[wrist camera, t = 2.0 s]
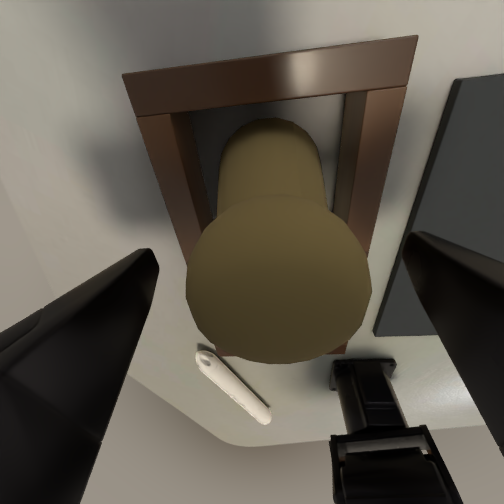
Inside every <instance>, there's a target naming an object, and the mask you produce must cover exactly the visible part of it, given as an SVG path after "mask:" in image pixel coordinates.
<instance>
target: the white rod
mask: <svg viewBox="0 0 504 504" xmlns="http://www.w3.org/2000/svg"><path fill="white" fill-rule="evenodd" d="M195 358H196V363H197V365H198V367H199V369H200V370H201V371H202V372H203V373H204V374H205V375H206V376H207V377H208V378H210V379H211V380H212V381H213V382H214V383H215V384H216V385H218V386H219V387H220V388H221V389H222V390H223V391H224V392H226V393H227V394H228V395H229V396H230V398H232V399H233V400H235V401H236V402H237V403H238V404H239V405H240V406H241V407H243V408H244V409H245V410H246V411H247V412H248V413H249V414H250V415H252V416H253V417H254V418H255V419H256V420H257V421H259V422H260V423H261V424H263V425H267V424H269V423H270V421H271V418H272V413H271V411H270V410H269V408H267V407H266V406H265V405H264V404H263V403H262V402H261V401H260V400H259V399H258V398H257V397H256V396H255V395H254V394H253V393H252V392H251V391H250V390H249V389H248V388H247V387H246V386H245V385H244V384H243V383H242V382H241V381H240V380H239V379H238V378H237V377H236V376H235V375H234V374H233V373H232V372H231V371H230V370H229V369H228V368H227V367H226V366H225V365H224V364H223V363H222V362H221V361H220V359H219V358H217V357H216V356H215V355H214V354H213V353H211V352H209V351H197V352H196V356H195Z"/></svg>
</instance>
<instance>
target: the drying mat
mask: <svg viewBox="0 0 504 504" xmlns="http://www.w3.org/2000/svg"><path fill="white" fill-rule="evenodd" d="M412 231H425V232H428V233H430V234H433V235H435V236H438V237H440V238H443V239H445V240H448V241H450V242H453V243H455V244H458V245H460V246H463V247H465V248H468V249H470V250H473V251H475V252H478V253H480V254H483V255H485V256H488V257H490V258H493V259H495V260H498V261H500V262H503V263H504V74H498V75H490V76H481V77H472V78H464V79H456V80H455V81H454V84H453V87H452V90H451V93H450V96H449V99H448V102H447V105H446V108H445V112H444V115H443V118H442V121H441V124H440V127H439V130H438V133H437V136H436V139H435V142H434V145H433V148H432V151H431V154H430V158H429V161H428V164H427V167H426V170H425V173H424V176H423V179H422V182H421V185H420V188H419V191H418V194H417V197H416V201H415V204H414V207H413V210H412V213H411V216H410V219H409V222H408V225H407V228H406V231H405V234H404V237H403V240H402V243H401V247H400V250H399V253H398V256H397V259H396V262H395V265H394V268H393V271H392V274H391V277H390V280H389V283H388V286H387V290H386V293H385V296H384V299H383V302H382V305H381V308H380V311H379V314H378V317H377V320H376V323H375V326H374V329H373V333H374V336H375V337H385V336H423V335H438V334H437V332H436V330H435V328H434V326H433V325H432V323H431V321H430V319H429V317H428V315H427V313H426V312H425V310H424V308H423V306H422V304H421V302H420V300H419V298H418V296H417V294H416V292H415V290H414V287H413V285H412V282H411V279H410V277H409V274H408V272H407V269H406V267H405V264H404V262H403V259H402V249H403V246H404V243H405V240H406V237H407V235H408V233H410V232H412Z"/></svg>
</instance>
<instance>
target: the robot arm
mask: <svg viewBox="0 0 504 504" xmlns="http://www.w3.org/2000/svg"><path fill="white" fill-rule="evenodd" d="M402 259H403V262H404V264H405V267H406V269H407V272H408V274H409V277H410V279H411V282H412V285H413V287H414V290H415V292H416V294H417V296H418V298H419V300H420V302H421V304H422V306H423V308H424V310H425V312H426V313H427V315H428V317H429V319H430V321H431V323H432V325H433V326H434V328H435V330H436V332H437V334H438V336H439V338H440V339H441V341H442V343H443V345H444V347H445V349H446V351H447V352H448V354H449V356H450V358H451V360H452V362H453V364H454V365H455V367H456V369H457V371H458V373H459V375H460V377H461V378H462V380H463V382H464V384H465V386H466V388H467V390H468V391H469V393H470V395H471V397H472V399H473V401H474V402H475V404H476V406H477V408H478V410H479V412H480V414H481V415H482V417H483V419H484V421H485V423H486V425H487V426H488V428H489V430H490V432H491V434H492V436H493V438H494V440H495V441H496V443H497V445H498V446H499V449H500V451H501V453H502V455H503V456H504V263H503V262H500V261H498V260H495V259H493V258H490V257H488V256H485V255H483V254H480V253H478V252H475V251H473V250H470V249H468V248H465V247H463V246H460V245H458V244H455V243H453V242H450V241H448V240H445V239H443V238H440V237H438V236H435V235H433V234H430V233H428V232H425V231H412V232H410V233H408V235H407V237H406V240H405V243H404V246H403V249H402ZM158 274H159V264H158V262H157V260H156V258H155V255H154V253H153V251H152V250H151V249H150V248H143V249H138V250H136V251H135V252H133V253H131V254H130V255H128V256H126V257H125V258H123V259H121V260H120V261H118V262H117V263H115V264H113V265H112V266H110V267H108V268H107V269H105V270H103V271H102V272H100V273H99V274H97V275H95V276H94V277H92V278H90V279H89V280H87V281H85V282H84V283H82V284H81V285H79V286H77V287H76V288H74V289H72V290H71V291H69V292H67V293H66V294H64V295H63V296H61V297H59V298H58V299H56V300H54V301H53V302H51V303H49V304H48V305H46V306H45V307H44V308H43V309H40V310H38V311H36V312H35V313H33V314H31V315H30V316H28V317H26V318H25V319H23V320H22V321H20V322H18V323H16V324H15V325H13V326H11V327H10V328H8V329H6V330H4V331H3V332H1V333H0V504H80V502H81V499H82V497H83V494H84V491H85V488H86V485H87V483H88V480H89V477H90V474H91V472H92V469H93V466H94V463H95V461H96V458H97V455H98V452H99V449H100V447H101V444H102V442H101V441H102V440H103V438H104V435H105V432H106V429H107V427H108V424H109V421H110V418H111V416H112V413H113V410H114V407H115V405H116V402H117V399H118V396H119V394H120V391H121V388H122V385H123V382H124V380H125V377H126V374H127V371H128V369H129V366H130V363H131V360H132V358H133V355H134V352H135V349H136V346H137V344H138V341H139V338H140V335H141V333H142V330H143V327H144V324H145V321H146V319H147V316H148V313H149V310H150V307H151V304H152V300H153V296H154V292H155V287H156V283H157V279H158ZM396 365H397V363H396V361H395V360H394V359H367V360H336V361H334V362H333V366H332V372H331V377H330V382H329V389H330V390H331V391H338V395H339V399H340V404H341V408H342V412H343V417H344V421H345V426H346V430H347V434H346V435H330V436H331V441H329V446H330V452H331V458H332V473H333V476H332V477H333V500H334V503H335V504H463V502H462V499H461V497H460V495H459V492H458V490H457V488H456V486H455V484H454V482H453V480H452V477H451V475H450V474H449V471H448V469H447V467H446V465H445V463H444V461H443V459H442V457H441V455H440V453H439V451H438V449H437V447H436V445H435V443H434V440H433V439H432V436H431V434H430V432H429V430H428V428H427V426H426V425H419V427H410V428H409V426H408V424H407V421H406V419H405V416H404V414H403V411H402V409H401V406H400V404H399V401H398V399H397V396H396V394H395V391H394V389H393V386H392V384H391V381H390V378H391V376H392V374H393V372H394V370H395V368H396ZM421 450H427V452H428V454H423V453H422V451H421Z"/></svg>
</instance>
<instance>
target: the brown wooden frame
mask: <svg viewBox="0 0 504 504" xmlns="http://www.w3.org/2000/svg"><path fill="white" fill-rule="evenodd" d="M417 41H418V35H412V36H404V37H397V38H389V39H382V40H374V41H367V42H359V43H351V44H344V45H336V46H329V47H321V48H314V49H306V50H299V51H291V52H284V53H276V54H269V55H261V56H253V57H246V58H238V59H231V60H223V61H216V62H208V63H201V64H193V65H186V66H178V67H170V68H163V69H155V70H148V71H140V72H133V73H125V74H122V78H123V81H124V84H125V87H126V90H127V93H128V96H129V99H130V101H131V104H132V107H133V110H134V113H135V116H136V117H137V118H136V120H137V122H138V125H139V128H140V131H141V134H142V137H143V140H144V143H145V146H146V149H147V151H148V154H149V157H150V160H151V163H152V166H153V169H154V172H155V175H156V178H157V180H158V183H159V186H160V189H161V192H162V195H163V198H164V201H165V204H166V206H167V209H168V212H169V215H170V218H171V221H172V224H173V227H174V230H175V233H176V235H177V238H178V241H179V244H180V247H181V250H182V253H183V256H184V259H185V262H186V264H187V266H188V261H189V258H190V256H191V253H192V251H193V249H194V247H195V245H196V243H197V242H198V240H199V238H200V236H201V235H202V233H203V231H204V229H205V228H206V227H207V226H208V225H209V224H210V223H211V222H212V221H213V218H212V213H211V209H210V204H209V200H208V196H207V191H206V187H205V182H204V178H203V174H202V169H201V165H200V160H199V156H198V152H197V147H196V143H195V138H194V134H193V130H192V125H191V121H190V116H189V112H188V111H195V110H204V109H212V108H221V107H230V106H238V105H247V104H256V103H265V102H273V101H282V100H291V99H299V98H308V97H317V96H326V95H334V94H343V93H346V98H345V107H344V116H343V126H342V135H341V144H340V153H339V162H338V171H337V181H336V190H335V199H334V208H333V213H334V214H335V215H336V216H338V217H339V218H341V219H342V220H343V221H344V222H345V223H346V224H347V226H348V227H349V229H350V230H351V231H352V233H353V234H354V235H355V237H356V238H357V240H358V241H359V243H360V244H361V246H362V248H363V250H364V251H365V253H366V256H367V257H368V253H369V249H370V244H371V240H372V236H373V231H374V227H375V223H376V219H377V214H378V210H379V206H380V201H381V197H382V193H383V188H384V184H385V180H386V176H387V171H388V167H389V163H390V158H391V154H392V150H393V146H394V141H395V137H396V133H397V128H398V124H399V120H400V115H401V111H402V107H403V103H404V98H405V94H406V90H407V87H406V86H407V84H408V80H409V76H410V72H411V67H412V63H413V59H414V54H415V50H416V46H417ZM347 343H348V341H347V342H345V343H344V344H342V345H341V346H339V347H337V348H336V349H334V350H333V351H331V352H329V353H327V354H345V351H346V347H347ZM215 348H216V351H217V354H218V356H219V357H222V356H234V355H232V354H229V353H227V352H225V351H224V350H222V349H220V348H219V347H217V346H216V345H215Z"/></svg>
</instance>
